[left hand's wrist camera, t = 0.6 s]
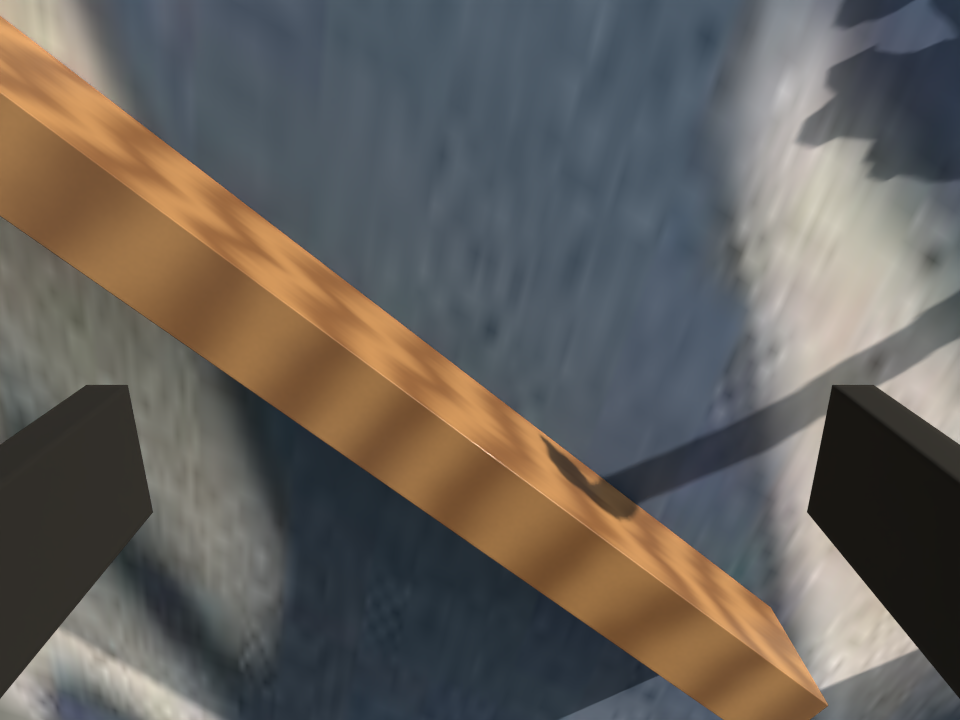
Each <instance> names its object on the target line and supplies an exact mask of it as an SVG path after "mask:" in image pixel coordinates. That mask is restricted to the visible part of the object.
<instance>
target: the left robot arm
mask: <svg viewBox="0 0 960 720" xmlns="http://www.w3.org/2000/svg"><path fill="white" fill-rule="evenodd" d="M152 513H153V510H152V505H151V500H150V495H149V490H148V485H147V480H146V475H145V470H144V465H143V460H142V455H141V450H140V445H139V440H138V435H137V430H136V425H135V420H134V415H133V410H132V405H131V400H130V395H129V390H128V385H86V386H84V387H83V388H82V389H80V390H79V391H77V392H76V393H74V394H73V395H71V396H70V397H69V398H67V399H66V400H64V401H63V402H61V403H60V404H58V405H57V406H56V407H54V408H53V409H51V410H50V411H48V412H47V413H45V414H44V415H43V416H41V417H40V418H38V419H37V420H35V421H34V422H32V423H31V424H30V425H28V426H27V427H25V428H24V429H22V430H21V431H19V432H18V433H17V434H15V435H14V436H12V437H11V438H9V439H8V440H6V441H5V442H4V443H2V444H1V445H0V698H1V697H2V696H3V695H4V693H5V692H6V691H7V690H8V688H9V687H10V686H11V685H12V684H13V682H14V681H15V680H16V679H17V677H18V676H19V675H20V674H21V673H22V671H23V670H24V669H25V668H26V666H27V665H28V664H29V663H30V662H31V660H32V659H33V658H34V657H35V655H36V654H37V653H38V652H39V651H40V649H41V648H42V647H43V646H44V645H45V643H46V642H47V641H48V640H49V638H50V637H51V636H52V635H53V634H54V632H55V631H56V630H57V629H58V627H59V626H60V625H61V624H62V623H63V621H64V620H65V619H66V618H67V616H68V615H69V614H70V613H71V612H72V610H73V609H74V608H75V607H76V605H77V604H78V603H79V602H80V601H81V599H82V598H83V597H84V596H85V594H86V593H87V592H88V591H89V590H90V588H91V587H92V586H93V585H94V583H95V582H96V581H97V580H98V579H99V577H100V576H101V575H102V574H103V572H104V571H105V570H106V569H107V568H108V566H109V565H110V564H111V563H112V561H113V560H114V559H115V558H116V557H117V555H118V554H119V553H120V552H121V550H122V549H123V548H124V547H125V546H126V544H127V543H128V542H129V541H130V539H131V538H132V537H133V536H134V535H135V533H136V532H137V531H138V530H139V528H140V527H141V526H142V525H143V524H144V522H145V521H146V520H147V519H148V517H149V516H150V515H151V514H152ZM807 513H808V514H809V515H810V516H811V517H812V519H813V520H814V521H815V522H816V524H817V525H818V526H819V527H820V528H821V530H822V531H823V532H824V533H825V535H826V536H827V537H828V538H829V539H830V541H831V542H832V543H833V544H834V546H835V547H836V548H837V549H838V550H839V552H840V553H841V554H842V555H843V557H844V558H845V559H846V560H847V561H848V563H849V564H850V565H851V566H852V568H853V569H854V570H855V571H856V572H857V574H858V575H859V576H860V577H861V579H862V580H863V581H864V582H865V583H866V585H867V586H868V587H869V588H870V590H871V591H872V592H873V593H874V594H875V596H876V597H877V598H878V599H879V601H880V602H881V603H882V604H883V605H884V607H885V608H886V609H887V610H888V612H889V613H890V614H891V615H892V616H893V618H894V619H895V620H896V621H897V623H898V624H899V625H900V626H901V627H902V629H903V630H904V631H905V632H906V634H907V635H908V636H909V637H910V638H911V640H912V641H913V642H914V643H915V645H916V646H917V647H918V648H919V649H920V651H921V652H922V653H923V654H924V655H925V657H926V658H927V659H928V660H929V662H930V663H931V664H932V665H933V666H934V668H935V669H936V670H937V671H938V673H939V674H940V675H941V676H942V677H943V679H944V680H945V681H946V682H947V684H948V685H949V686H950V687H951V688H952V690H953V691H954V692H955V693H956V695H957V696H958V697H959V698H960V445H959V444H958V443H956V442H955V441H954V440H952V439H951V438H949V437H948V436H946V435H945V434H943V433H942V432H941V431H939V430H938V429H936V428H935V427H933V426H932V425H930V424H929V423H928V422H926V421H925V420H923V419H922V418H920V417H919V416H917V415H916V414H915V413H913V412H912V411H910V410H909V409H907V408H906V407H904V406H903V405H902V404H900V403H899V402H897V401H896V400H894V399H893V398H891V397H890V396H889V395H887V394H886V393H884V392H883V391H881V390H880V389H878V388H877V387H876V386H874V385H832V389H831V395H830V400H829V405H828V410H827V415H826V420H825V425H824V430H823V435H822V440H821V445H820V450H819V455H818V460H817V465H816V470H815V475H814V480H813V485H812V490H811V495H810V500H809V505H808V510H807Z"/></svg>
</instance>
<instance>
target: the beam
mask: <svg viewBox="0 0 960 720" xmlns="http://www.w3.org/2000/svg"><path fill="white" fill-rule="evenodd" d="M0 216H1V217H2V218H4V219H5V220H7V221H8V222H10V223H11V224H12V225H14V226H15V227H17V228H18V229H20V230H21V231H22V232H24V233H25V234H27V235H28V236H30V237H31V238H33V239H34V240H35V241H37V242H38V243H40V244H41V245H43V246H44V247H45V248H47V249H48V250H50V251H51V252H53V253H54V254H55V255H57V256H58V257H60V258H61V259H63V260H64V261H66V262H67V263H68V264H70V265H71V266H73V267H74V268H76V269H77V270H78V271H80V272H81V273H83V274H84V275H86V276H87V277H88V278H90V279H91V280H93V281H94V282H96V283H97V284H99V285H100V286H101V287H103V288H104V289H106V290H107V291H109V292H110V293H111V294H113V295H114V296H116V297H117V298H119V299H120V300H122V301H123V302H124V303H126V304H127V305H129V306H130V307H132V308H133V309H134V310H136V311H137V312H139V313H140V314H142V315H143V316H144V317H146V318H147V319H149V320H150V321H152V322H153V323H155V324H156V325H157V326H159V327H160V328H162V329H163V330H165V331H166V332H167V333H169V334H170V335H172V336H173V337H175V338H176V339H178V340H179V341H180V342H182V343H183V344H185V345H186V346H188V347H189V348H190V349H192V350H193V351H195V352H196V353H198V354H199V355H200V356H202V357H203V358H205V359H206V360H208V361H209V362H211V363H212V364H213V365H215V366H216V367H218V368H219V369H221V370H222V371H223V372H225V373H226V374H228V375H229V376H231V377H232V378H234V379H235V380H236V381H238V382H239V383H241V384H242V385H244V386H245V387H246V388H248V389H249V390H251V391H252V392H254V393H255V394H256V395H258V396H259V397H261V398H262V399H264V400H265V401H267V402H268V403H269V404H271V405H272V406H274V407H275V408H277V409H278V410H279V411H281V412H282V413H284V414H285V415H287V416H288V417H289V418H291V419H292V420H294V421H295V422H297V423H298V424H300V425H301V426H302V427H304V428H305V429H307V430H308V431H310V432H311V433H312V434H314V435H315V436H317V437H318V438H320V439H321V440H323V441H324V442H325V443H327V444H328V445H330V446H331V447H333V448H334V449H335V450H337V451H338V452H340V453H341V454H343V455H344V456H345V457H347V458H348V459H350V460H351V461H353V462H354V463H356V464H357V465H358V466H360V467H361V468H363V469H364V470H366V471H367V472H368V473H370V474H371V475H373V476H374V477H376V478H377V479H379V480H380V481H381V482H383V483H384V484H386V485H387V486H389V487H390V488H391V489H393V490H394V491H396V492H397V493H399V494H400V495H401V496H403V497H404V498H406V499H407V500H409V501H410V502H412V503H413V504H414V505H416V506H417V507H419V508H420V509H422V510H423V511H424V512H426V513H427V514H429V515H430V516H432V517H433V518H435V519H436V520H437V521H439V522H440V523H442V524H443V525H445V526H446V527H447V528H449V529H450V530H452V531H453V532H455V533H456V534H457V535H459V536H460V537H462V538H463V539H465V540H466V541H468V542H469V543H470V544H472V545H473V546H475V547H476V548H478V549H479V550H480V551H482V552H483V553H485V554H486V555H488V556H489V557H490V558H492V559H493V560H495V561H496V562H498V563H499V564H501V565H502V566H503V567H505V568H506V569H508V570H509V571H511V572H512V573H513V574H515V575H516V576H518V577H519V578H521V579H522V580H524V581H525V582H526V583H528V584H529V585H531V586H532V587H534V588H535V589H536V590H538V591H539V592H541V593H542V594H544V595H545V596H546V597H548V598H549V599H551V600H552V601H554V602H555V603H557V604H558V605H559V606H561V607H562V608H564V609H565V610H567V611H568V612H569V613H571V614H572V615H574V616H575V617H577V618H578V619H580V620H581V621H582V622H584V623H585V624H587V625H588V626H590V627H591V628H592V629H594V630H595V631H597V632H598V633H600V634H601V635H602V636H604V637H605V638H607V639H608V640H610V641H611V642H613V643H614V644H615V645H617V646H618V647H620V648H621V649H623V650H624V651H625V652H627V653H628V654H630V655H631V656H633V657H634V658H635V659H637V660H638V661H640V662H641V663H643V664H644V665H646V666H647V667H648V668H650V669H651V670H653V671H654V672H656V673H657V674H658V675H660V676H661V677H663V678H664V679H666V680H667V681H669V682H670V683H671V684H673V685H674V686H676V687H677V688H679V689H680V690H681V691H683V692H684V693H686V694H687V695H689V696H690V697H691V698H693V699H694V700H696V701H697V702H699V703H700V704H702V705H703V706H704V707H706V708H707V709H709V710H710V711H712V712H713V713H714V714H716V715H717V716H719V717H720V718H722V719H723V720H810V719H811V718H813V717H814V716H815V715H817V714H818V713H819V712H821V711H822V710H823V709H825V708H826V707H827V706H828V704H827V702H826V700H825V699H824V697H823V695H822V694H821V692H820V690H819V689H818V687H817V685H816V683H815V682H814V680H813V678H812V677H811V675H810V673H809V672H808V670H807V668H806V667H805V665H804V663H803V661H802V660H801V658H800V656H799V655H798V653H797V651H796V650H795V648H794V646H793V645H792V643H791V641H790V639H789V638H788V636H787V634H786V633H785V631H784V629H783V628H782V626H781V624H780V623H779V621H778V619H777V617H776V616H775V614H774V612H773V611H772V609H771V608H770V607H769V606H768V605H767V604H765V603H764V602H763V601H761V600H760V599H759V598H757V597H756V596H755V595H754V594H752V593H751V592H750V591H748V590H747V589H746V588H744V587H743V586H742V585H741V584H739V583H738V582H737V581H735V580H734V579H733V578H731V577H730V576H729V575H727V574H726V573H725V572H724V571H722V570H721V569H720V568H718V567H717V566H716V565H714V564H713V563H712V562H711V561H709V560H708V559H707V558H705V557H704V556H703V555H701V554H700V553H699V552H698V551H696V550H695V549H694V548H692V547H691V546H690V545H688V544H687V543H686V542H685V541H683V540H682V539H681V538H679V537H678V536H677V535H675V534H674V533H673V532H671V531H670V530H669V529H668V528H666V527H665V526H664V525H662V524H661V523H660V522H658V521H657V520H656V519H655V518H653V517H652V516H651V515H649V514H648V513H647V512H645V511H644V510H643V509H642V508H640V507H639V506H638V505H636V504H635V503H634V502H632V501H631V500H630V499H629V498H627V497H626V496H625V495H623V494H622V493H621V492H619V491H618V490H617V489H615V488H614V487H613V486H612V485H610V484H609V483H608V482H606V481H605V480H604V479H602V478H601V477H600V476H599V475H597V474H596V473H595V472H593V471H592V470H591V469H589V468H588V467H587V466H586V465H584V464H583V463H582V462H580V461H579V460H578V459H576V458H575V457H574V456H573V455H571V454H570V453H569V452H567V451H566V450H565V449H563V448H562V447H561V446H559V445H558V444H557V443H556V442H554V441H553V440H552V439H550V438H549V437H548V436H546V435H545V434H544V433H543V432H541V431H540V430H539V429H537V428H536V427H535V426H533V425H532V424H531V423H530V422H528V421H527V420H526V419H524V418H523V417H522V416H520V415H519V414H518V413H517V412H515V411H514V410H513V409H511V408H510V407H509V406H507V405H506V404H505V403H503V402H502V401H501V400H500V399H498V398H497V397H496V396H494V395H493V394H492V393H490V392H489V391H488V390H487V389H485V388H484V387H483V386H481V385H480V384H479V383H477V382H476V381H475V380H474V379H472V378H471V377H470V376H468V375H467V374H466V373H464V372H463V371H462V370H461V369H459V368H458V367H457V366H455V365H454V364H453V363H451V362H450V361H449V360H447V359H446V358H445V357H444V356H442V355H441V354H440V353H438V352H437V351H436V350H434V349H433V348H432V347H431V346H429V345H428V344H427V343H425V342H424V341H423V340H421V339H420V338H419V337H418V336H416V335H415V334H414V333H412V332H411V331H410V330H408V329H407V328H406V327H405V326H403V325H402V324H401V323H399V322H398V321H397V320H395V319H394V318H393V317H391V316H390V315H389V314H388V313H386V312H385V311H384V310H382V309H381V308H380V307H378V306H377V305H376V304H375V303H373V302H372V301H371V300H369V299H368V298H367V297H365V296H364V295H363V294H362V293H360V292H359V291H358V290H356V289H355V288H354V287H352V286H351V285H350V284H349V283H347V282H346V281H345V280H343V279H342V278H341V277H339V276H338V275H337V274H335V273H334V272H333V271H332V270H330V269H329V268H328V267H326V266H325V265H324V264H322V263H321V262H320V261H319V260H317V259H316V258H315V257H313V256H312V255H311V254H309V253H308V252H307V251H306V250H304V249H303V248H302V247H300V246H299V245H298V244H296V243H295V242H294V241H293V240H291V239H290V238H289V237H287V236H286V235H285V234H283V233H282V232H281V231H279V230H278V229H277V228H276V227H274V226H273V225H272V224H270V223H269V222H268V221H266V220H265V219H264V218H263V217H261V216H260V215H259V214H257V213H256V212H255V211H253V210H252V209H251V208H250V207H248V206H247V205H246V204H244V203H243V202H242V201H240V200H239V199H238V198H237V197H235V196H234V195H233V194H231V193H230V192H229V191H227V190H226V189H225V188H223V187H222V186H221V185H220V184H218V183H217V182H216V181H214V180H213V179H212V178H210V177H209V176H208V175H207V174H205V173H204V172H203V171H201V170H200V169H199V168H197V167H196V166H195V165H194V164H192V163H191V162H190V161H188V160H187V159H186V158H184V157H183V156H182V155H181V154H179V153H178V152H177V151H175V150H174V149H173V148H171V147H170V146H169V145H167V144H166V143H165V142H164V141H162V140H161V139H160V138H158V137H157V136H156V135H154V134H153V133H152V132H151V131H149V130H148V129H147V128H145V127H144V126H143V125H141V124H140V123H139V122H138V121H136V120H135V119H134V118H132V117H131V116H130V115H128V114H127V113H126V112H125V111H123V110H122V109H121V108H119V107H118V106H117V105H115V104H114V103H113V102H111V101H110V100H109V99H108V98H106V97H105V96H104V95H102V94H101V93H100V92H98V91H97V90H96V89H95V88H93V87H92V86H91V85H89V84H88V83H87V82H85V81H84V80H83V79H82V78H80V77H79V76H78V75H76V74H75V73H74V72H72V71H71V70H70V69H69V68H67V67H66V66H65V65H63V64H62V63H61V62H59V61H58V60H57V59H55V58H54V57H53V56H52V55H50V54H49V53H48V52H46V51H45V50H44V49H42V48H41V47H40V46H39V45H37V44H36V43H35V42H33V41H32V40H31V39H29V38H28V37H27V36H26V35H24V34H23V33H22V32H20V31H19V30H18V29H16V28H15V27H14V26H13V25H11V24H10V23H9V22H7V21H6V20H5V19H3V18H2V17H1V16H0Z"/></svg>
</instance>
